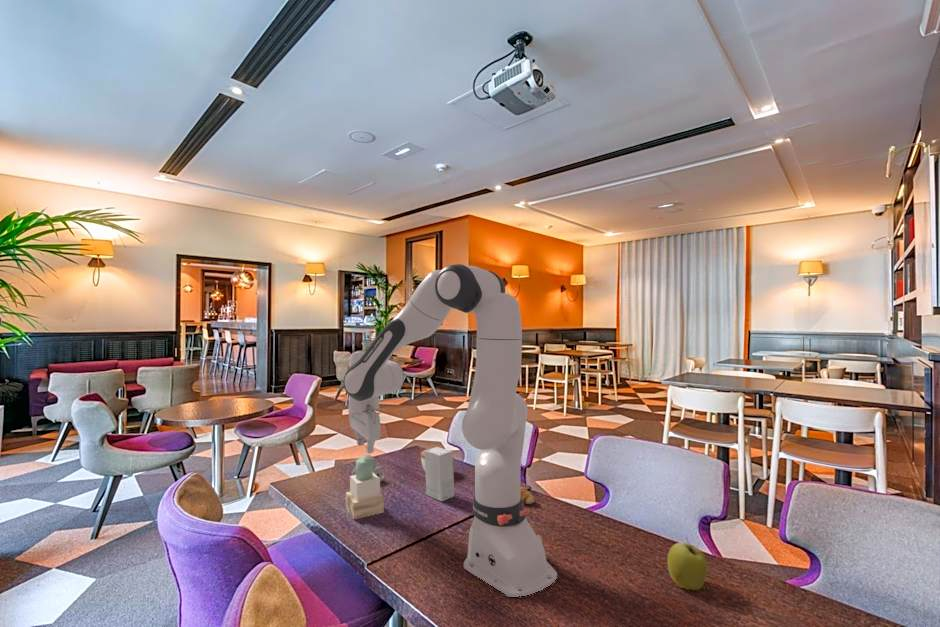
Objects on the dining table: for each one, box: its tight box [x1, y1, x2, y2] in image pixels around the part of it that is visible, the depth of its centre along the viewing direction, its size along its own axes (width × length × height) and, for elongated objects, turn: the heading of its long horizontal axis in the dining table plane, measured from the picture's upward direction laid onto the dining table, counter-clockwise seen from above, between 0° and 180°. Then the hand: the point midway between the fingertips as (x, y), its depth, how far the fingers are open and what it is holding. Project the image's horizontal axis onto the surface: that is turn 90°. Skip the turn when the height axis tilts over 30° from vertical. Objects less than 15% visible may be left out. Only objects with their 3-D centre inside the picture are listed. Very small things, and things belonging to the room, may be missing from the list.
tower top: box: [349, 473, 381, 501], centre depth 127 cm, size 7×7×5 cm
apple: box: [667, 537, 709, 591], centre depth 91 cm, size 8×8×10 cm
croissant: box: [521, 483, 535, 505], centre depth 136 cm, size 21×10×8 cm, turn 54°
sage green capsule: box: [355, 458, 373, 480], centre depth 127 cm, size 5×5×5 cm
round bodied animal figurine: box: [351, 454, 385, 483], centre depth 150 cm, size 7×12×8 cm, turn 63°
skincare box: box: [424, 446, 455, 502], centre depth 137 cm, size 8×6×15 cm
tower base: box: [345, 490, 385, 521], centre depth 127 cm, size 9×9×5 cm
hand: (364, 448), depth 127 cm, fingers open, 8 cm apart
